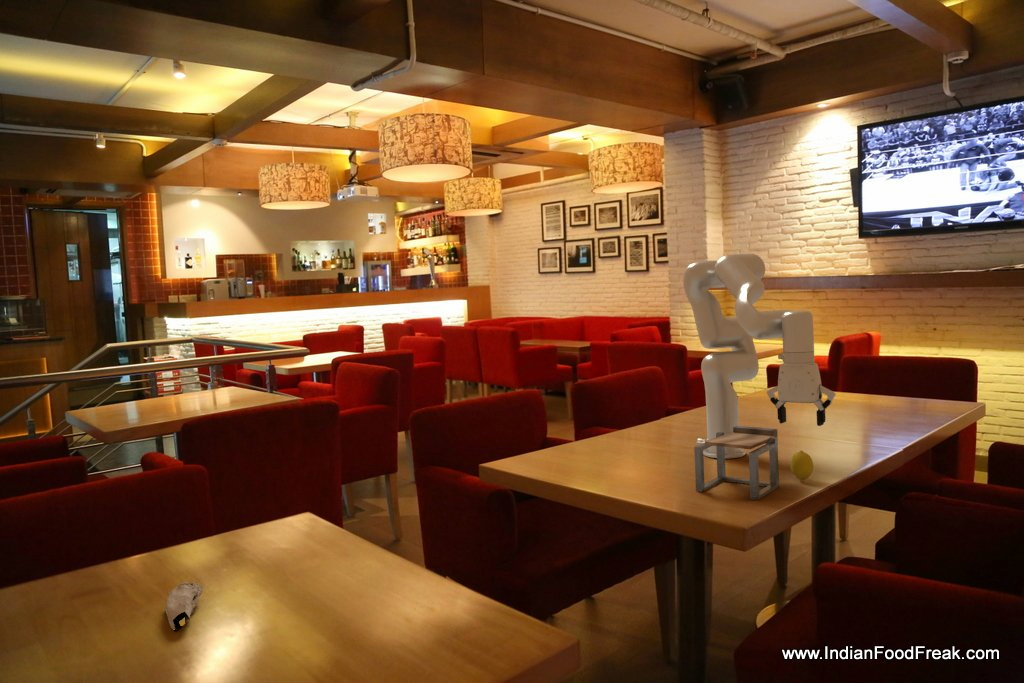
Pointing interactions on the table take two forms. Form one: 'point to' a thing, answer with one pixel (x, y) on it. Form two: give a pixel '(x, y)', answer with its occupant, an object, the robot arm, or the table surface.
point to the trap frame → (753, 468)
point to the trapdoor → (744, 437)
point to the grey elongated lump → (182, 601)
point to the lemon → (801, 465)
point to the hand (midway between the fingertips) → (801, 423)
